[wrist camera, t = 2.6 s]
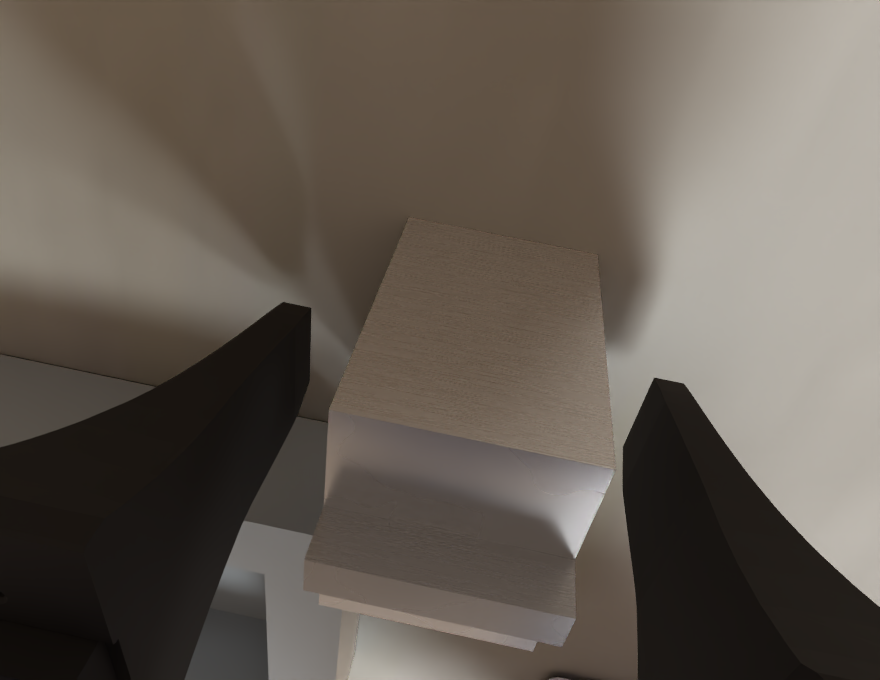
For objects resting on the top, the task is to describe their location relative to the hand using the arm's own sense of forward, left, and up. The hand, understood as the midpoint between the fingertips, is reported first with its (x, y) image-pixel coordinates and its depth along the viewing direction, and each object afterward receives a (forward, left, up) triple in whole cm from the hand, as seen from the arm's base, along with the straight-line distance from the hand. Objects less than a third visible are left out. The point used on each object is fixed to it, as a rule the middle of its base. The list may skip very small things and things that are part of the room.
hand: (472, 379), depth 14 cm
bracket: (0, 0, -2) cm, 2 cm away
